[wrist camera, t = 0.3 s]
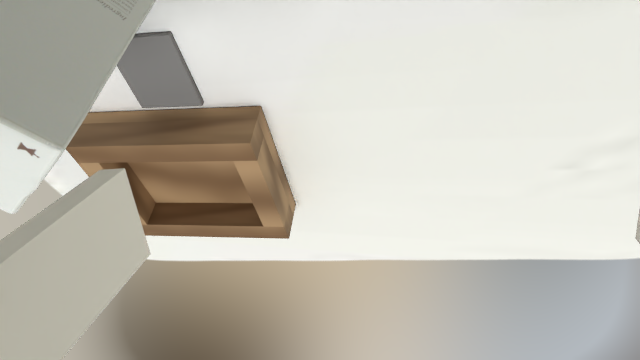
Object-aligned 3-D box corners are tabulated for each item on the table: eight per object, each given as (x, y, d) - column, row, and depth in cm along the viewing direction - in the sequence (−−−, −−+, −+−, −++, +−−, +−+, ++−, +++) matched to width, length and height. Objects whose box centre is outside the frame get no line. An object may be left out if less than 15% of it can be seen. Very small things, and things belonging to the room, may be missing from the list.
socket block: (84, 112, 32) (64, 147, 30) (261, 106, 30) (250, 143, 28) (151, 203, 40) (137, 235, 38) (295, 204, 37) (288, 238, 35)
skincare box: (93, -111, 21) (-84, 75, 14) (182, -41, 23) (68, 153, 16) (49, -18, 25) (-107, 166, 18) (128, 35, 27) (17, 219, 20)
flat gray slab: (103, 36, 27) (101, 40, 27) (170, 31, 26) (168, 35, 26) (143, 104, 31) (142, 107, 31) (203, 102, 30) (202, 105, 30)
